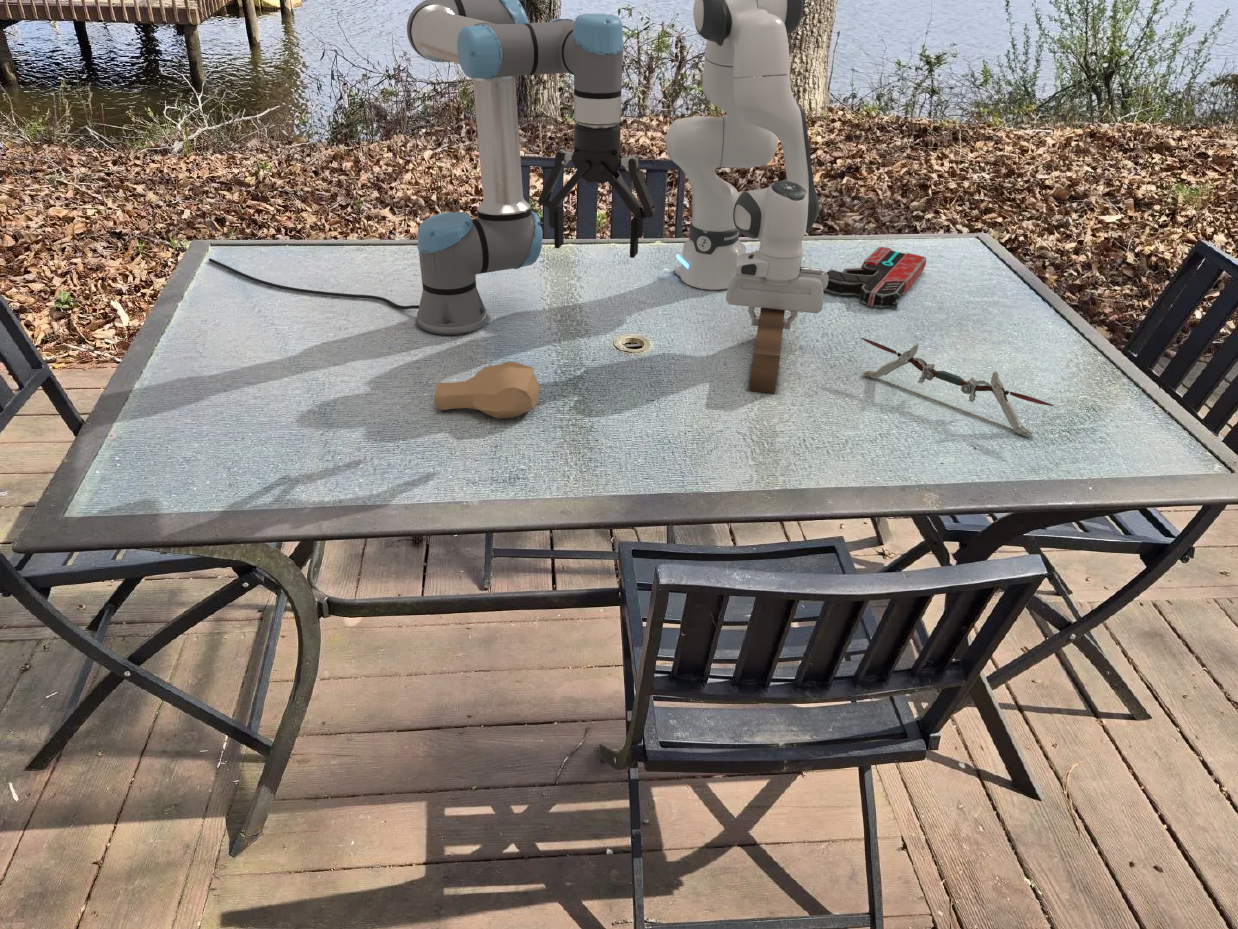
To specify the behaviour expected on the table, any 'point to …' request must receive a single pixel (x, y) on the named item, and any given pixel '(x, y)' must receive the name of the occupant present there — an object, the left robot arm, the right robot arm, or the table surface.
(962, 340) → the table surface
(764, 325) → the bar
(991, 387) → the bow
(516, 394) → the squash
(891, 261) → the gun
